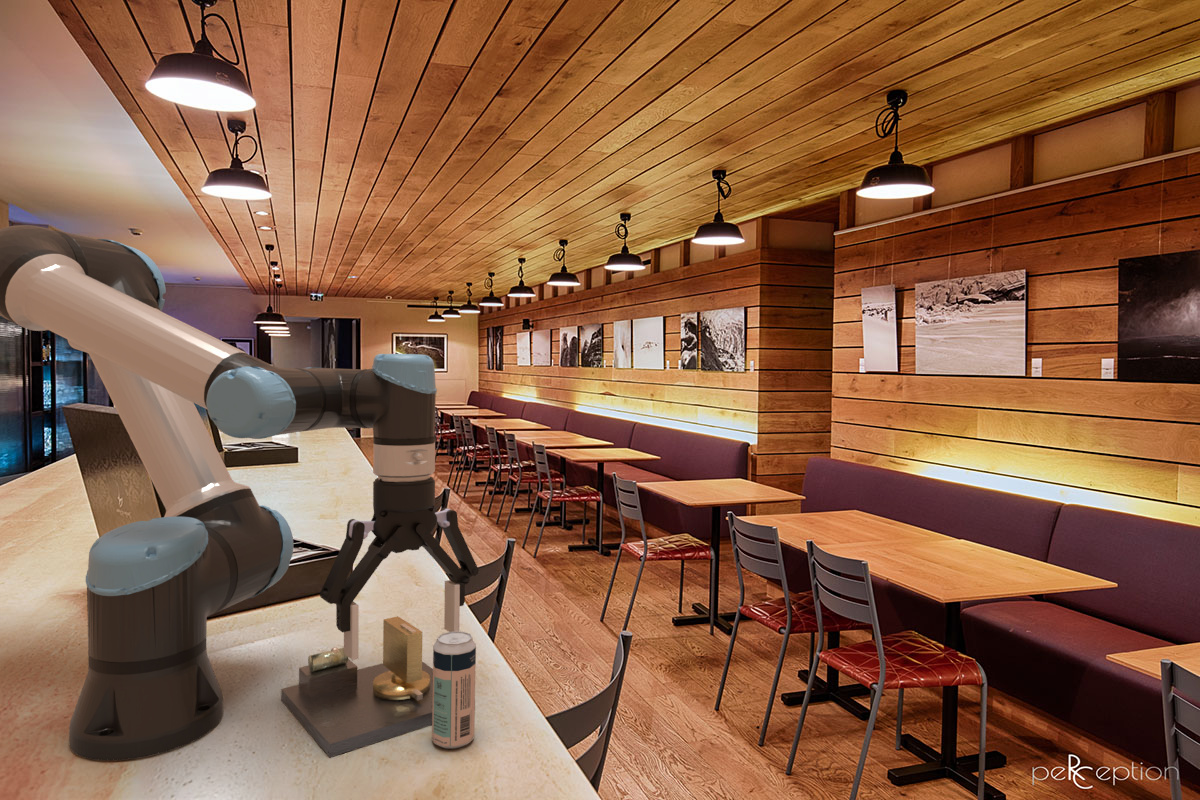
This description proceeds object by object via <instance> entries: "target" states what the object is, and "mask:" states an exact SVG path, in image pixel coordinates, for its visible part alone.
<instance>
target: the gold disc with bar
mask: <svg viewBox="0 0 1200 800" xmlns="http://www.w3.org/2000/svg"><path fill="white" fill-rule="evenodd" d="M382 625H383V626H382V627H383V630H382V631H383V634H382V635H383V638H382V641H383V642H382V649H383V650H382V663H383V665H384V666H385V667H386V668H388V669H389V670H390V671H387V672H384V673H382V674H380V675H378V676H377V677H376V678H375V679H374V681H373V692H374V694H375V695H376V696H378V697H380V698H383V699H389V700H403V699H409V698H414V699H416V700H417V701H418V700H422V699H423V693H425V692H426V691H427V690H428V689H429V687H430V675H429V674H428V673H427V672H425V671H422V662H423V631H422V630H420V629H419V628H417V627H415V626H414V625H412V624H411V623H409V622H407V621H406V620H405V619H403V618H401V617H400V616H394V617H389V618H383V624H382Z"/></svg>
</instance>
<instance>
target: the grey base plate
mask: <svg viewBox="0 0 1200 800" xmlns="http://www.w3.org/2000/svg"><path fill="white" fill-rule="evenodd" d="M307 664H308V665H305V666H304V665H303V666H300V667H298V684H296V685H291V686H287V687H284V688H281V689H280V693H281V694H280V697H281V698H280V701H281V702H282V704H284V706H286V708H287V710H289V711H290V713H291V714H292V715H293V716H294V718H296V720H297V721H298V722H299V723H300V724H301V726H302V727H303V728H304V729H305V730H306V731H307V733H308V734H309V735H310V736H311V737H312V738H313V739H314V741H315V742H316V743H317V744H318V746H319V747H320V748H321V749H322V750H323V751H324V752H325V753H326V755H327V756H328V757H329V758H333V757H336V756H339V755H341V754H345V753H348V752H353V751H354V750H357V749H361V748H364V747H367V746H371V745H373V744H376V743H379V742H382V741H385V740H388V739H392V738H395V737H397V736H401V735H403V734H407V733H410V732H414V731H416V730H419V729H423V728H425V727H428V726H429V727H430V726H432V706H433V667H431V666H429V664H426V663H425V662H423V661H422V671H425V672H427V673H428V674H429V675H430V687H429V689H428V690H427V691H426V692H425V693H423V699H422V700H418V701H417V700H416V699H414V698H409V699H403V700H389V699H383V698H380V697H378V696H376V695H375V694H374V692H373V681H374V679H375V678H376V677H377V676H378V675H380V674H382V673H384V672H387V671H390V670H389V669H388V668H386V667H385V666H384V665H383V662H382V663H378V664H375V665H371V666H367V667H362V668H359V669H358V666H357V665H356V663H354V662H353V661H351V659H350V658H349V657H348V656H347V655H345V654H344V647H340V648H338V647H335V646H334V647H332V648H331V649H330V650H328V651H324V652H319V653H314V654H309V656H308V658H307Z"/></svg>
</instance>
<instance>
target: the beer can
mask: <svg viewBox="0 0 1200 800" xmlns="http://www.w3.org/2000/svg"><path fill="white" fill-rule="evenodd" d="M476 643H477V642H475V641H474V639H473V636H472V634H471V633H468V632H466V631H459V632H455V631H452V632H449V631H447V632H444V633H443V632H442V633H441V634H440V635H438V636H437V637H436V639H435V642H434V644H433V647H432V648H433V651H432V652H433V654H432V669H433V706H432V725H431V740H432V742H433V744H434V745H436V746H439V747H440V748H443V749H446V750H453V749H454V750H455V749H459V748H463V747H465V746H466V745H468V744H469V743H471V741H473V740H474V737H475V721H476V720H475V716H476V715H475V714H476V712H475V711H476V664H477V663H476V655H477V652H476V651H477V644H476Z"/></svg>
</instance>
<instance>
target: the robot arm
mask: <svg viewBox="0 0 1200 800" xmlns="http://www.w3.org/2000/svg"><path fill="white" fill-rule="evenodd" d="M166 292H167V290H166V283H165V280H164V276H163V274H162V272H161V270H160V268H159V267H158V265H157V264H156V263H155V261H154V260H153V259H152V258H151V257H150V256H148V255H147V254H146V253H144V252H143V251H141V250H139V249H138V248H135V247H133V246H130V245H126V244H124V243H121V242H119V241H116V240H112V239H107V238H106V239H105V238H93V237H89V236H88V237H87V236H83V235H79V234H75V233H74V234H73V233H70V232H66V231H61V230H56V229H52V228H47V227H43V226H37V225H30V224H29V225H27V224H25V225H24V224H23V225H19V224H18V225H11V226H10V225H9V226H5V227H2V228H1V227H0V317H2V318H4V319H6V320H8V321H9V322H11V323H14V324H16V325H17V326H20V327H22V328H24V329H27V330H29V331H36V332H37V331H38V332H43V331H50V332H51V333H53V334H55V335H58V336H60V337H62V338H63V339H66V340H67V343H68V345H69V346H70V347H71V348H73V349H75V350H78V351H80V352H84V353H87V354H88V355H89V357H90V359H91V361H92V363H93V365H94V367H95V370H96V371H97V374H98V376H99V377H100V379H101V382H102V383H103V386H104V387H105V389H106V391H107V393H108V395H109V397H110V399H111V402H112V403H113V406H114V407H115V410H116V411H117V414H118V416H119V418H120V419H121V422H122V424H123V426H124V428H125V430H126V432H127V433H128V436H129V438H130V440H131V442H132V443H133V446H134V448H135V449H136V451H137V454H138V456H139V458H140V460H141V461H142V464H143V466H144V468H145V469H146V472H147V473H148V476H149V478H150V480H151V482H152V483H153V484H152V485H153V487H154V488H155V490H156V493H157V494H158V497H159V498H160V501H161V502H162V504H163V507H164V508H165V514H164V516H163V517H161V516H160V517H155V518H152V519H149V520H138V521H135V522H134V521H133V522H131V523H127V524H123V525H121V526H118V527H116V528H113V529H112V530H109V531H107V532H105V533H103V534H102V535H101V536H99V537H98V538H97V539H96V540H95V542H94V543H93V544H92V545H91V547H90V549H89V552H88V565H87V567H88V568H87V571H86V575H85V585H86V599H87V602H86V603H87V605H86V606H87V639H88V640H87V645H88V646H87V648H88V651H87V653H88V656H87V657H88V662H87V663H88V664H87V665H88V667H87V669H88V671H87V675H86V677H85V681H84V683H83V686H82V689H81V691H80V693H79V697H78V700H77V702H76V705H75V707H74V711H73V712H72V713H73V714H72V716H71V720H70V722H69V728H68V729H69V736H68V737H69V738H68V739H69V740H68V741H69V748H70V750H71V751H72V752H73V753H74V754H75V755H77V756H79V757H81V758H85V759H87V760H88V759H89V760H94V761H104V762H105V761H110V762H111V761H113V762H114V761H126V760H133V759H134V760H135V759H141V758H145V757H151V756H156V755H159V754H163V753H165V752H170V751H172V750H176V749H178V748H181V747H183V746H186V745H188V744H190V743H193V742H195V741H196V740H198V739H200V738H202V737H203V736H205V735H207V734H209V733H210V732H211V731H213V729H214V728H216V727H217V726H218V725H219V723H220V722H221V721H222V718H223V716H224V697H223V696H224V695H223V692H222V690H221V687H220V684H219V681H218V679H217V677H216V673H215V671H214V669H213V665H212V663H211V661H210V658H209V656H208V652H207V630H208V629H207V623H208V621H207V620H208V619H207V617H210V616H211V615H212V616H213V615H214V614H216V613H218V612H221V611H223V610H225V609H227V608H229V607H231V606H232V607H233V606H234V605H236V604H238V603H241V602H243V601H245V600H249V599H253V598H255V597H256V596H259V594H262V593H264V592H265V591H266V590H267V589H269V588H271V587H272V586H274V585H275V584H277V583H278V582H279V581H280V580H281V579H282V578H283V576H284V575H286V573H287V571H288V569H289V567H290V563H291V560H292V557H293V555H294V538H293V537H294V536H293V533H292V532H293V531H292V530H291V526H290V525H289V523H288V521H287V520H286V518H285V517H284V516H283V515H282V514H281V513H280V512H279V511H278V510H275V509H271V508H270V507H269V506H266V505H260V504H259V503H258V501H257V499H256V497H255V494H254V492H253V491H252V488H250V486H249V485H245V484H241V483H238V482H235V481H234V480H233V478H232V477H231V475H230V473H229V470H228V469H227V467H226V465H225V462H224V460H223V459H222V457H221V454H220V452H219V451H218V449H217V447H216V445H215V443H214V441H213V439H212V437H211V434H210V432H209V431H208V429H207V427H206V425H205V423H204V420H203V419H202V417H201V415H200V413H199V411H198V409H197V407H196V405H197V406H200V407H201V408H203V409H205V410H207V414H208V416H209V418H210V420H212V422H213V423H214V425H215V426H216V428H217V430H219V431H220V432H221V433H223V434H225V435H226V436H229V437H232V438H236V439H252V440H253V439H255V440H256V439H257V440H261V439H267V438H270V437H271V438H272V437H275V436H280V435H286V434H287V435H288V434H292V433H301V432H309V431H315V430H317V431H318V430H323V429H324V430H325V429H334V428H337V429H338V428H340V429H341V428H343V429H347V428H348V429H351V428H353V429H357V428H358V429H372V433H373V434H372V436H373V439H372V440H373V442H372V443H373V444H372V445H373V446H372V447H373V452H372V453H373V455H372V456H373V457H372V458H373V460H372V461H373V462H372V463H373V465H372V473H373V474H374V475H375V476H376V477H377V478H375V479H374V480H373V482H372V484H373V485H372V486H373V487H372V490H373V491H372V497H373V498H372V508H373V516H372V518H371V520H357V519H355V518H351V519H349V520H348V521H347V524H346V533H345V539H344V541H343V543H342V544H341V547H340V550H339V551H338V553H337V556H336V558H335V560H334V562H333V564H332V567H331V569H330V571H329V573H328V574H327V577H326V580H325V582H324V583H323V586H322V588H321V590H320V593H319V597H320V598H321V599H322V600H324V601H325V602H327V603H328V604H329V605H332V604H333V605H335V606H336V609H335V610H336V615H335V617H336V618H335V619H336V621H335V622H336V625H335V626H336V628H337V629H338V630H339V631H340V632H341V633H343V648H344V654H345V655H347V656H348V659H349V660H352V661H354V660H358V659H359V636H360V635H359V632H360V631H359V623H360V622H359V616H360V615H359V611H360V610H359V604H357V603H356V602H355V599H356V598H357V597H358V595H359V593H360V592H361V591H362V589H364V587H365V585H366V584H367V583H368V581H369V579H370V578H371V577H372V575H374V573H375V571H376V570H377V569H378V567H379V566H380V565H381V563H382V562H383V561H384V560H386V559H387V558H388V556H389V555H391V553H395V554H399V553H403V552H405V551H417V550H419V551H420V548H421V547H422V548H423V549H424V550H425V551H426V552H427V553H428V554H429V555H430V556H431V557H432V559H433V560H434V561H435V562H436V563H437V564H438V566H440V568H441V569H442V570H443V571H444V573H446V574H447V575H448V576H449V578H450V579H449V580H444V615H443V616H444V620H443V621H444V624H443V625H444V630H445V631H447V632H452V631H455V632H460V615H461V614H460V609H461V608H460V607H463V606H464V605H465V602H466V600H465V599H466V585H468V584H469V582H470V581H471V579H470V578H471V577H475V576H477V575H478V574H479V571H480V569H479V568H478V564H477V563H476V561H475V559H474V556H473V555H472V553H471V551H470V549H469V547H468V544H467V542H466V540H465V538H464V536H463V534H462V531H461V529H460V527H459V520H458V513H457V511H456V510H453V509H450V508H448V507H442V508H441V509H440V511H436V512H435V509H434V508H435V504H436V503H435V502H436V480H435V479H434V478H433V477H432V476H431V475H433V474H434V473H435V472H436V436H435V435H436V434H435V431H436V398H437V397H436V396H437V395H436V394H437V391H438V389H437V388H436V372H435V370H436V369H435V362H434V360H433V358H431V357H430V355H427V354H418V353H417V354H416V353H415V354H414V353H378V354H376V355H375V356H374V357H373V362H372V365H371V368H368V369H367V368H364V369H359V368H358V369H356V368H355V369H353V368H332V367H331V368H329V367H327V368H326V367H318V366H316V367H310V366H309V367H304V368H295V367H294V368H293V367H278V366H274V365H272V364H270V363H268V362H265V361H263V360H262V359H259V358H258V357H256V356H253V355H251V354H248V353H247V352H246V351H243V350H242V349H239V348H237V347H235V346H233V345H231V344H229V343H227V342H225V341H222V340H220V339H219V338H218V337H217V338H216V337H214V336H212V335H210V334H208V333H206V332H205V331H202V330H200V329H198V328H196V327H194V326H192V325H190V324H188V323H186V322H184V321H181V320H179V319H177V318H175V317H174V316H171V315H169V314H167V313H165V312H163V311H162V310H163V308H164V305H165V302H166V299H165V298H163V297H164V295H165V294H166ZM437 524H438V526H440V527H441V528H442V531H443V533H444V535H445V538H446V539H447V541H448V543H449V545H450V547H451V549H452V551H453V554H454V556H455V558H456V560H457V562H458V564H459V565H457V563H456V562H455V561H454V560H453V559H452V557H451V556H450V555H449V554H448V553H447V551H446V550H444V548H443V547H442V546H441V545H440V542H439V541H438V540H437V539H436V538H435V537H434V536H433V534H432V531H433V530H434V528H435V526H436V525H437ZM370 532H372V533H373V535H374V537H375V538H373V540H372V541H371V543H370V544H369V546H368V548H367V551H366V553H365V554H364V555H363V556H362V558H361V559H360V561H359V562H358V563H357V564H356V566H355V567H354V568H353V565H354V563H355V561H356V560H357V557H358V555H359V553H360V551H361V548H362V546H363V543H364V540H366V539H367V537H368V535H369V533H370ZM352 568H353V570H352ZM351 570H352V571H351Z"/></svg>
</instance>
